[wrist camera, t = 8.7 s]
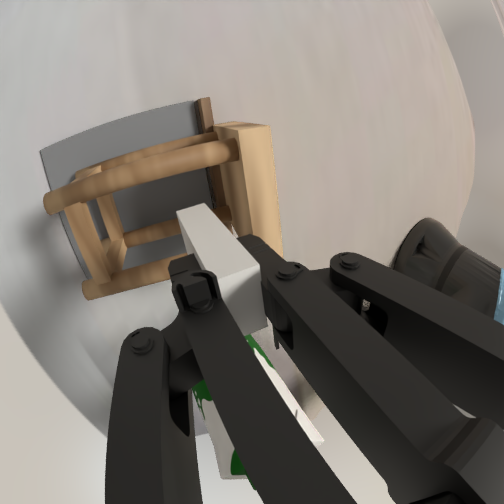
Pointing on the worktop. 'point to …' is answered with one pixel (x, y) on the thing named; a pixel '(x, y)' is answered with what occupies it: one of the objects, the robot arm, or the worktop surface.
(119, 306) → the worktop surface
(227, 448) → the milk carton
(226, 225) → the strip
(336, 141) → the worktop surface
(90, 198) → the stool
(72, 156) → the mat
